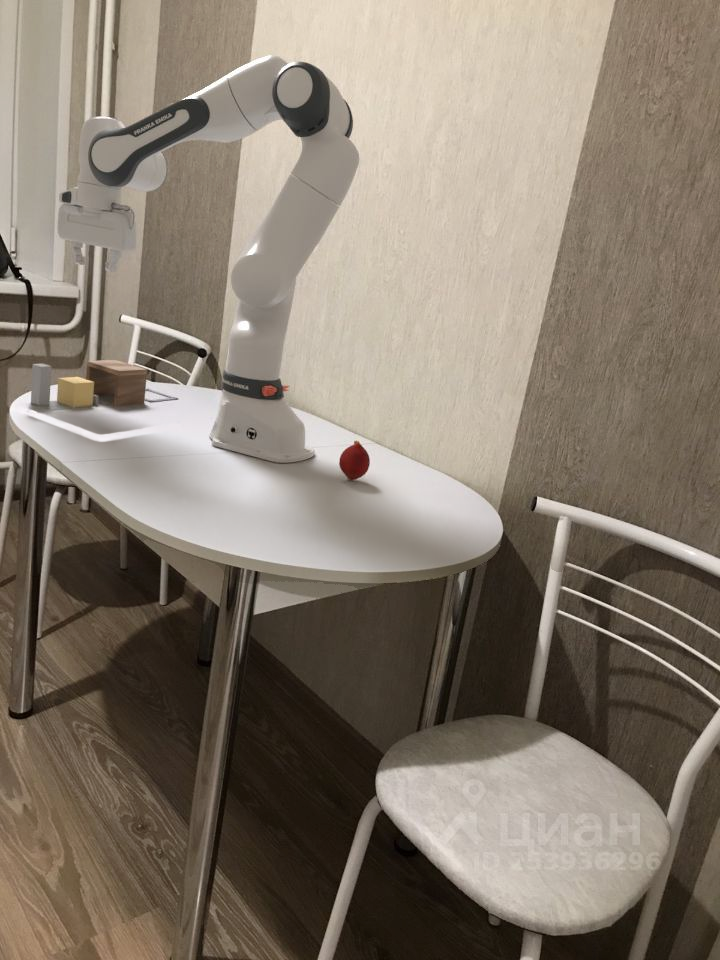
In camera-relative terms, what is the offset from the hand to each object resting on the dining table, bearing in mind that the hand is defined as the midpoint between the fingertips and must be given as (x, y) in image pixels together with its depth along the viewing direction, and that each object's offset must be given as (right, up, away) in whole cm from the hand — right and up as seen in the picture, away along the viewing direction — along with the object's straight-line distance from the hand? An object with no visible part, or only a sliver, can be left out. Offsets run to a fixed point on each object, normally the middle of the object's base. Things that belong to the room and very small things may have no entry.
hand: (94, 267), depth 160 cm
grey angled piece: (-3, -31, -4) cm, 31 cm away
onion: (+56, -46, -18) cm, 75 cm away
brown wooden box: (+2, -29, +6) cm, 30 cm away
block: (-3, -30, -4) cm, 30 cm away
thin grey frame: (+7, -27, +15) cm, 32 cm away
